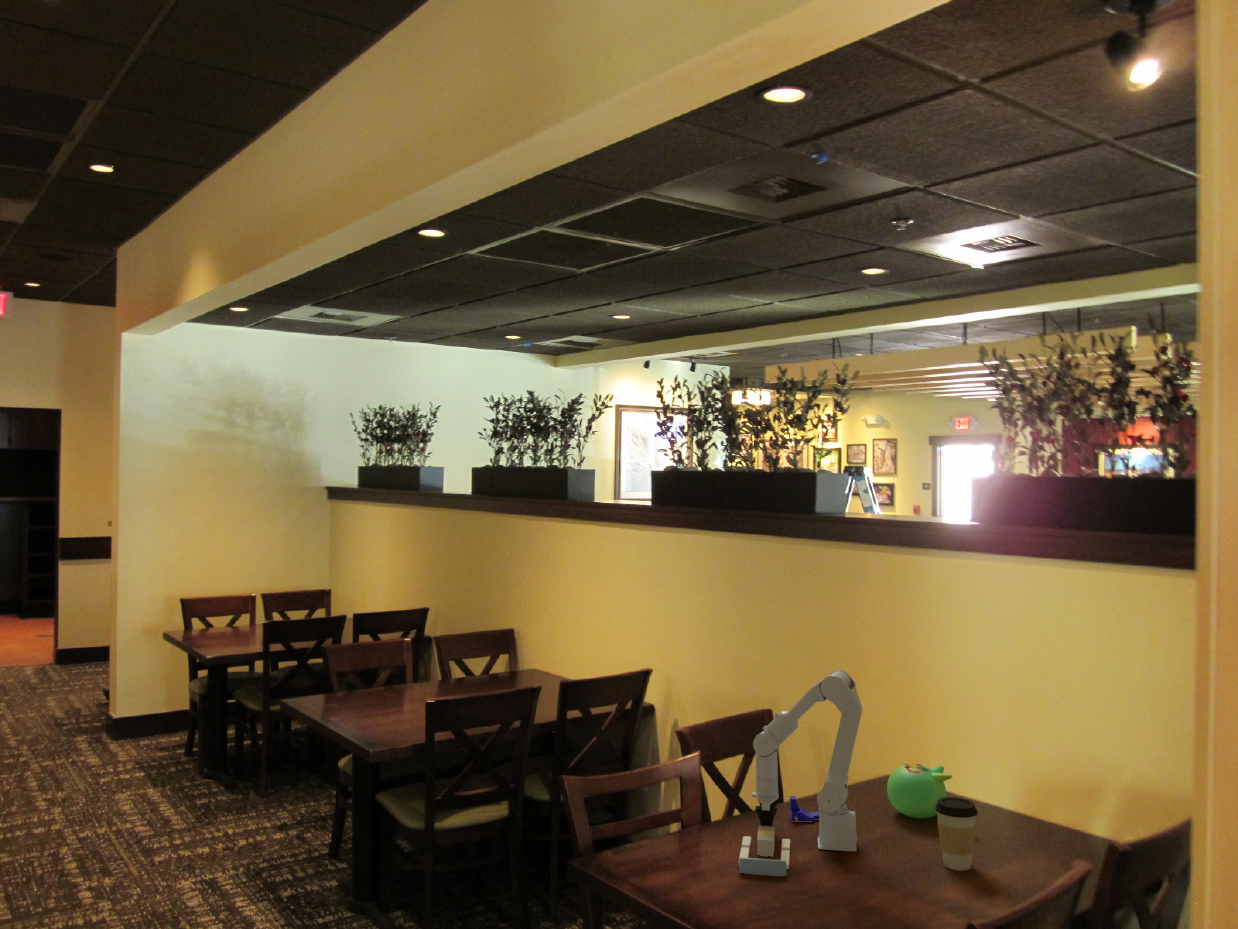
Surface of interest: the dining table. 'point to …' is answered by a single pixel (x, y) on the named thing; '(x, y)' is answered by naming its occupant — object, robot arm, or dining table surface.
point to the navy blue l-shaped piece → (801, 812)
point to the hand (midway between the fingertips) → (767, 829)
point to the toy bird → (917, 789)
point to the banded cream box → (765, 841)
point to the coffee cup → (956, 831)
